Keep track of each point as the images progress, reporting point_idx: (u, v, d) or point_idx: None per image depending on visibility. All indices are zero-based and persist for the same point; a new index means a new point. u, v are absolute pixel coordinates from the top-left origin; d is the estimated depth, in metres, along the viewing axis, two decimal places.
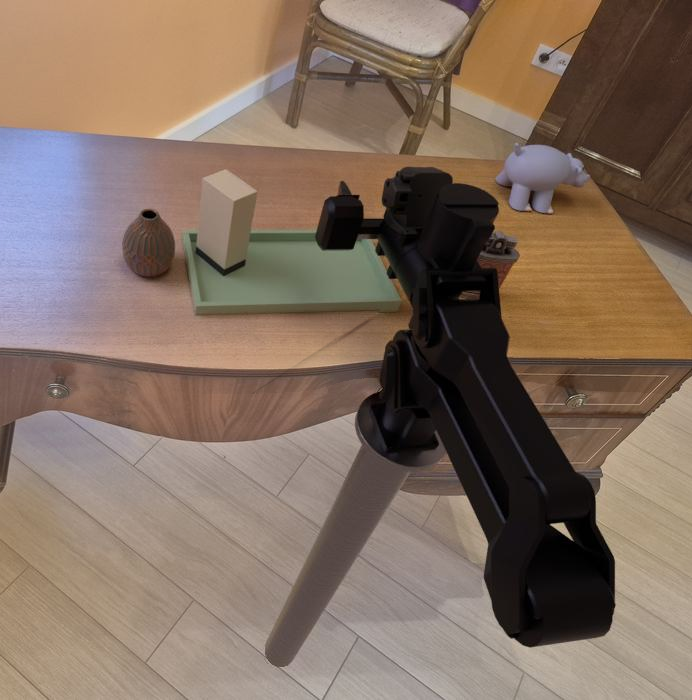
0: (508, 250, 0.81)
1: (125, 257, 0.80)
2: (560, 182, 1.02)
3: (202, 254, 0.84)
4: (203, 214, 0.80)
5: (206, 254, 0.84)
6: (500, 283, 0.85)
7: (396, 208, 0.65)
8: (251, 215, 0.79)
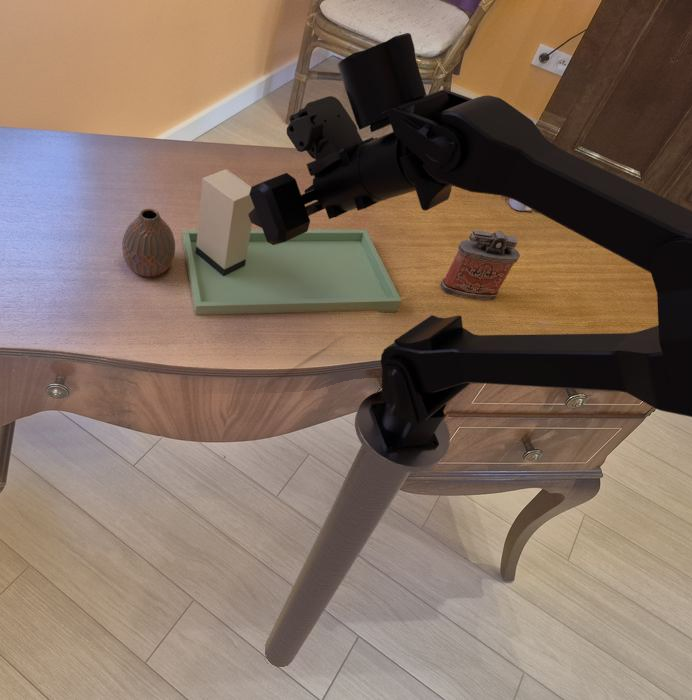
0: (508, 250, 0.81)
1: (125, 257, 0.80)
2: None
3: (202, 254, 0.84)
4: (203, 214, 0.80)
5: (206, 254, 0.84)
6: (500, 283, 0.85)
7: (315, 141, 0.59)
8: None
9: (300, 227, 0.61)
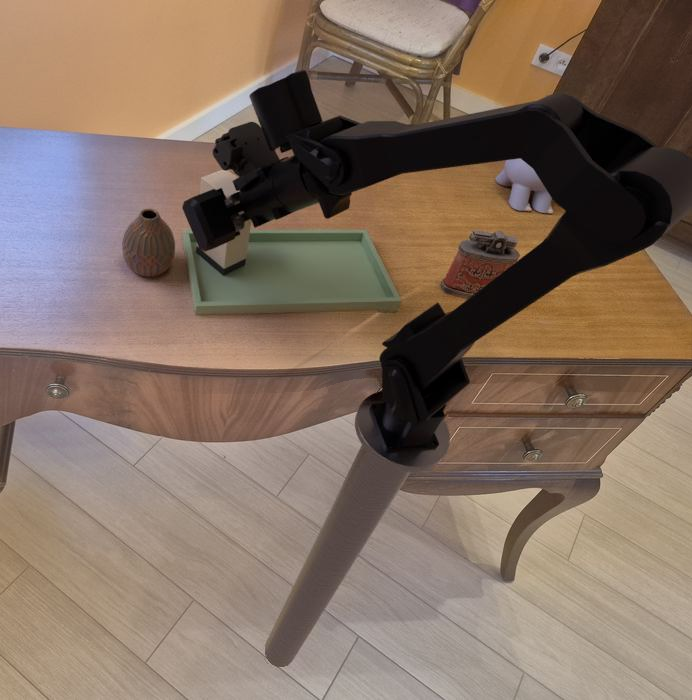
0: (508, 250, 0.81)
1: (125, 257, 0.80)
2: None
3: (203, 253, 0.84)
4: None
5: (206, 253, 0.84)
6: None
7: (237, 161, 0.69)
8: None
9: (227, 235, 0.70)
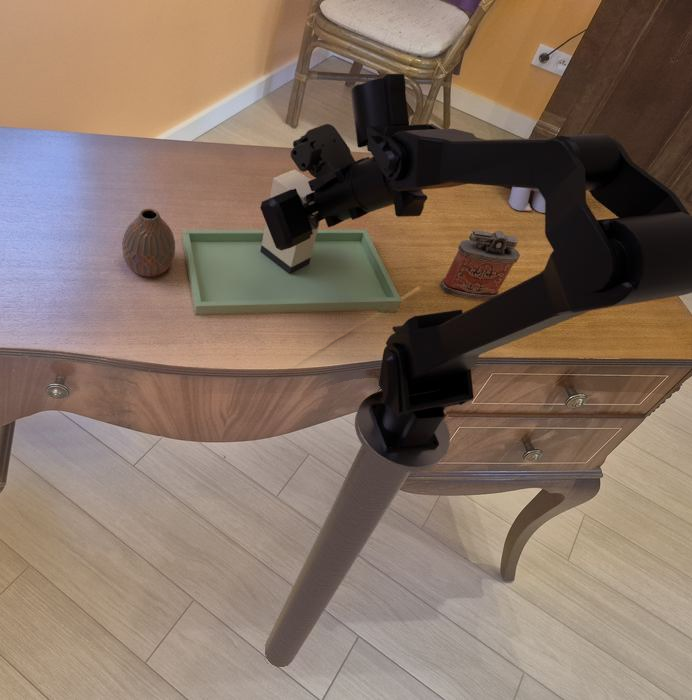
0: (508, 250, 0.81)
1: (125, 257, 0.80)
2: None
3: (268, 252, 0.86)
4: None
5: (272, 252, 0.86)
6: (500, 283, 0.85)
7: (315, 162, 0.71)
8: None
9: (304, 235, 0.72)
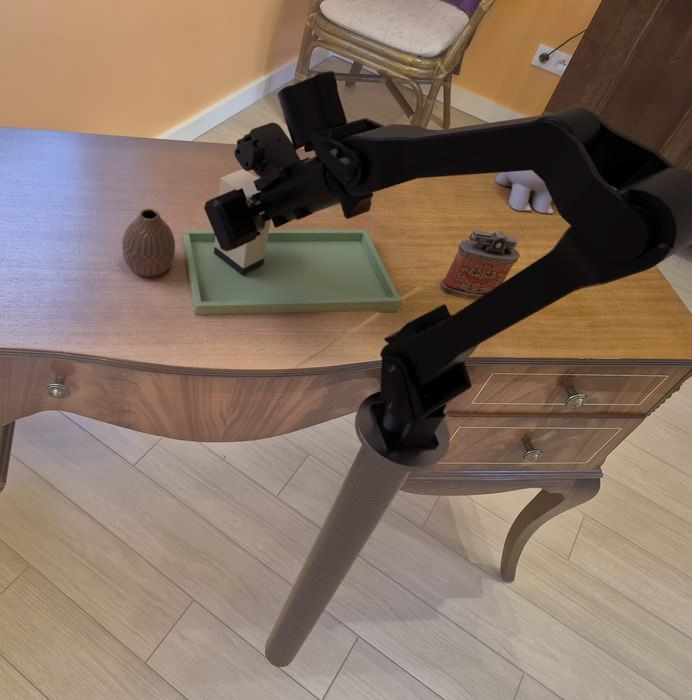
0: (508, 250, 0.81)
1: (125, 257, 0.80)
2: None
3: (221, 254, 0.85)
4: None
5: (225, 254, 0.84)
6: (500, 283, 0.85)
7: (259, 161, 0.69)
8: None
9: (248, 235, 0.71)
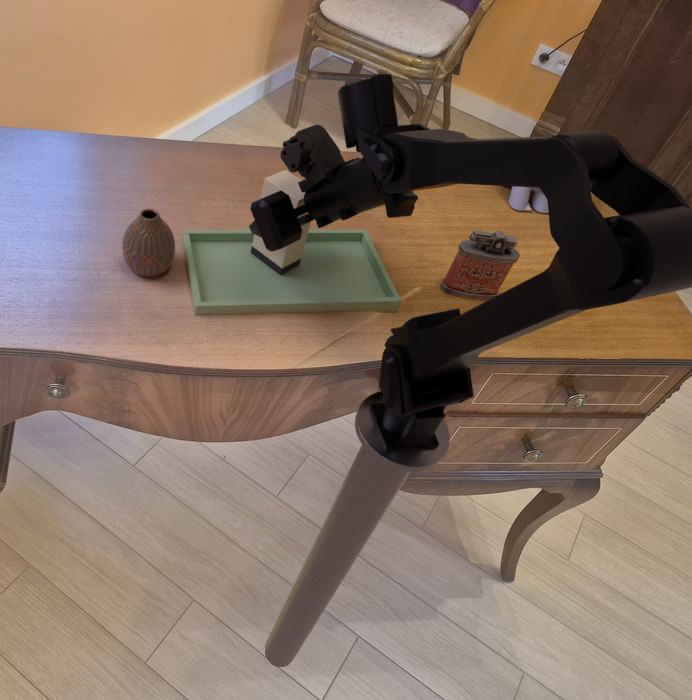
0: (508, 250, 0.81)
1: (125, 257, 0.80)
2: None
3: (258, 253, 0.86)
4: None
5: (262, 253, 0.85)
6: (500, 283, 0.85)
7: (305, 163, 0.70)
8: None
9: (294, 236, 0.72)
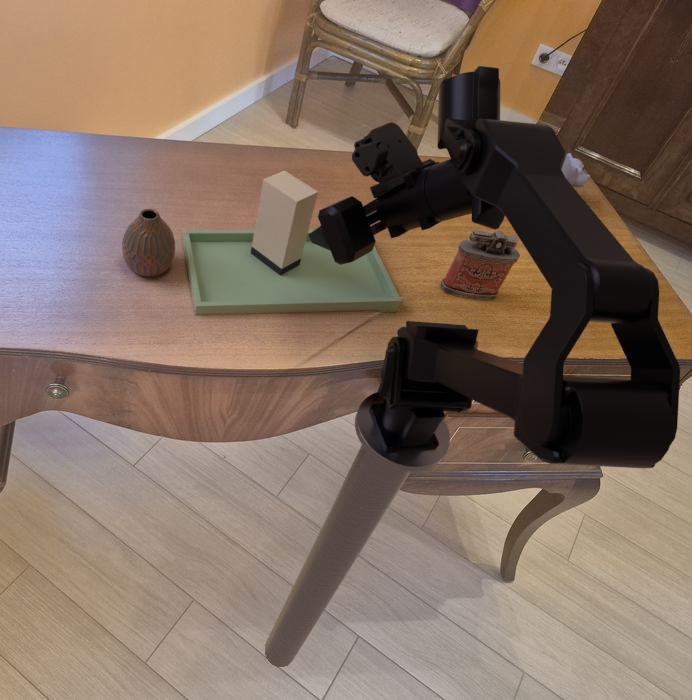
0: (508, 250, 0.81)
1: (125, 257, 0.80)
2: None
3: (258, 254, 0.86)
4: (262, 215, 0.82)
5: (262, 254, 0.85)
6: (500, 283, 0.85)
7: (381, 166, 0.63)
8: (310, 215, 0.80)
9: (367, 247, 0.64)
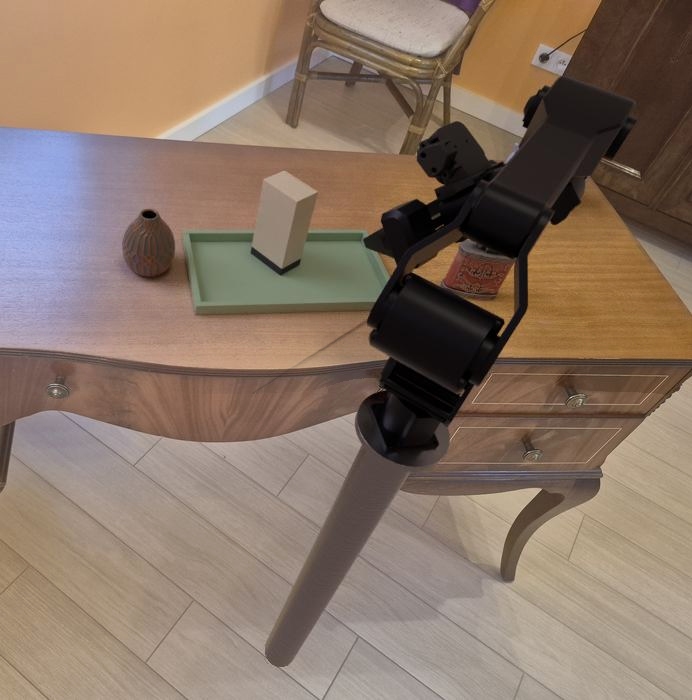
0: None
1: (125, 257, 0.80)
2: None
3: (258, 254, 0.86)
4: (262, 215, 0.82)
5: (262, 254, 0.85)
6: (500, 283, 0.85)
7: (448, 167, 0.59)
8: (310, 215, 0.80)
9: None
